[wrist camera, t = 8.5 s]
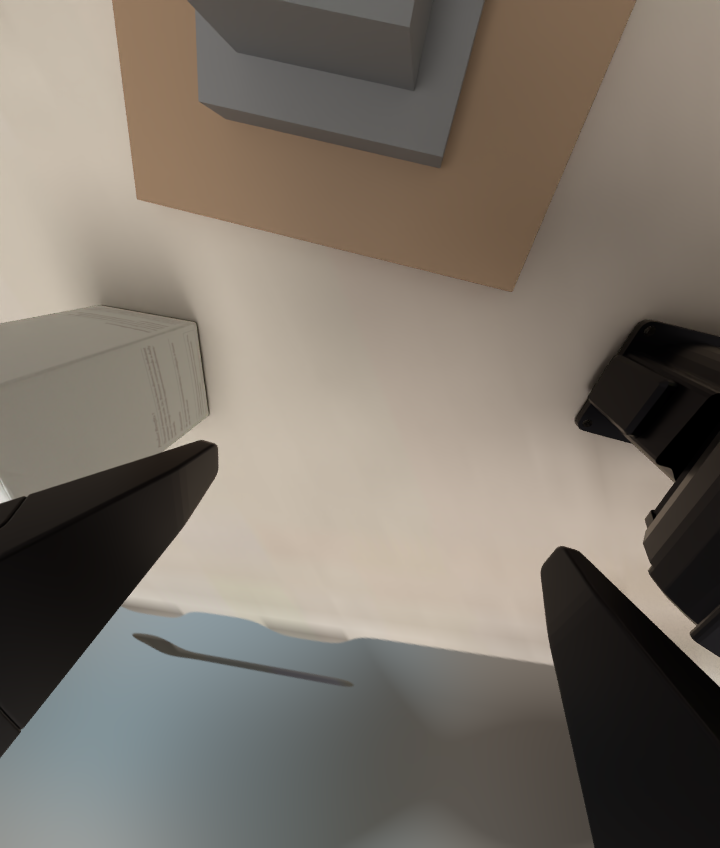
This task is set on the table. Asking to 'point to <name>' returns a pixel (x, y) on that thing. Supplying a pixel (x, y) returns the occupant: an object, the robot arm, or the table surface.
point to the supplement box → (93, 393)
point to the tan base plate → (366, 118)
